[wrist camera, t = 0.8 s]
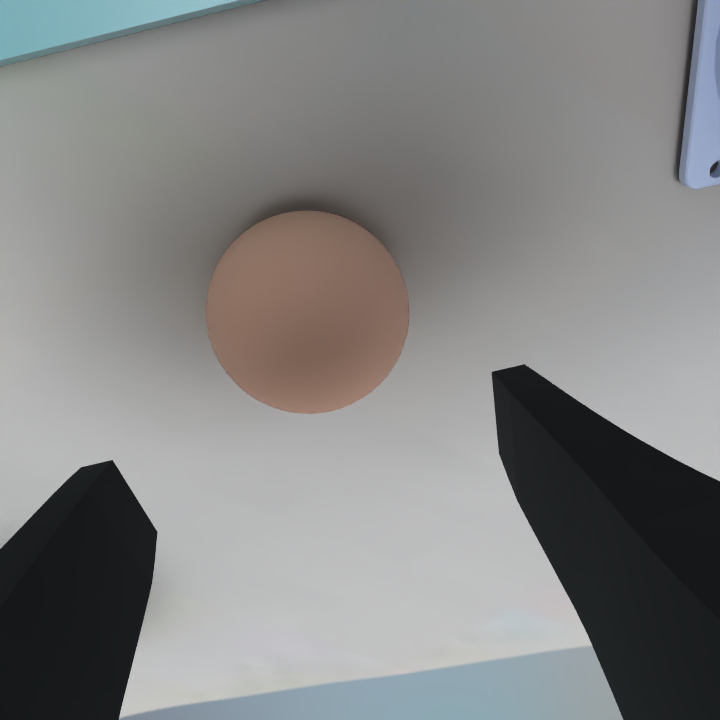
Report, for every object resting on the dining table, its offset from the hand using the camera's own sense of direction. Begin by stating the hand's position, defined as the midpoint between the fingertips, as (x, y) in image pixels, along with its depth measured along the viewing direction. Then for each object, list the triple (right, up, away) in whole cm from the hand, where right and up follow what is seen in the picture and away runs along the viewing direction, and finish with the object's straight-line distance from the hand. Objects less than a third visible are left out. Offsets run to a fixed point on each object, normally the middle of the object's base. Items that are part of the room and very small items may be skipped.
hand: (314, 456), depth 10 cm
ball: (-1, +5, +7) cm, 9 cm away
